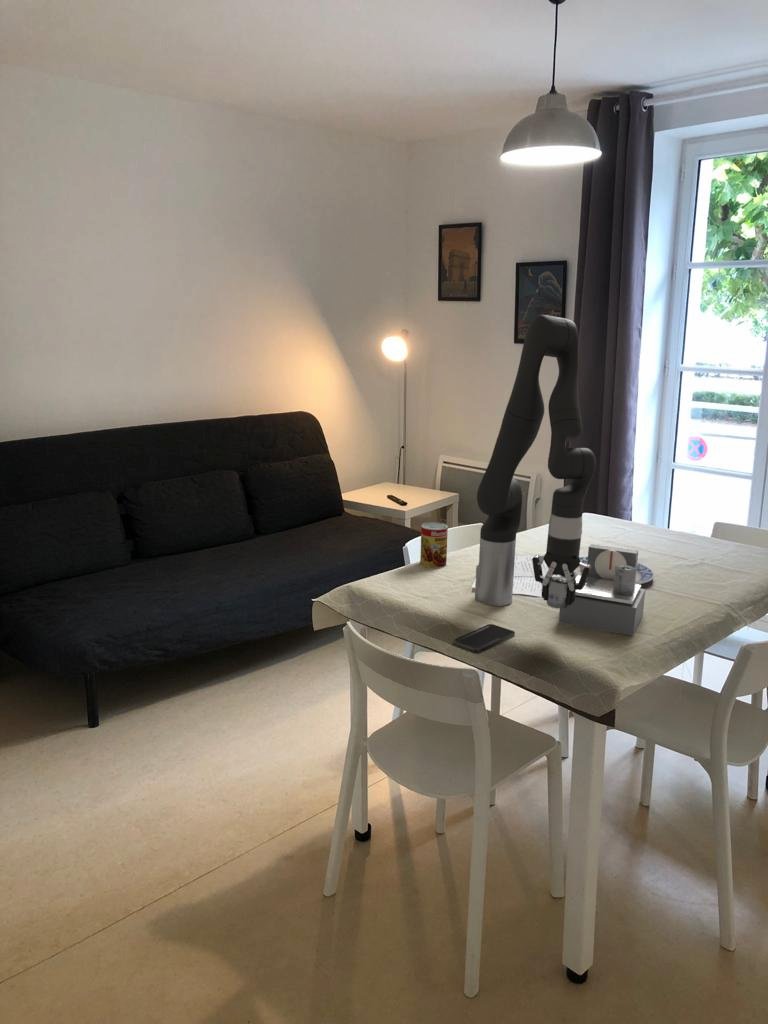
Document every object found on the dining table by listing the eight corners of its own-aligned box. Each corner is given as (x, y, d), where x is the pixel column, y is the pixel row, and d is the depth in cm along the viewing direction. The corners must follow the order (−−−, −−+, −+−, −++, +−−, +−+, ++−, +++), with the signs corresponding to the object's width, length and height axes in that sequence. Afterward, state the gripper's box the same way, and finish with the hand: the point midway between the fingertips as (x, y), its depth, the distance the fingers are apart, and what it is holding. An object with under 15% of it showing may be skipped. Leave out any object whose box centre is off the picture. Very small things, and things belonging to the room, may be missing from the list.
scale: (558, 622, 205) (563, 560, 201) (574, 599, 221) (579, 542, 217) (633, 635, 197) (639, 572, 194) (644, 611, 213) (650, 552, 209)
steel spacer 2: (612, 593, 201) (614, 569, 200) (613, 587, 206) (615, 564, 205) (633, 595, 200) (635, 571, 198) (634, 589, 204) (636, 566, 203)
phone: (451, 640, 191) (490, 623, 202) (451, 645, 191) (490, 627, 202) (479, 650, 186) (517, 632, 196) (478, 655, 186) (517, 636, 197)
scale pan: (565, 593, 203) (566, 590, 203) (577, 578, 215) (577, 575, 215) (632, 604, 197) (632, 601, 197) (640, 587, 208) (641, 585, 208)
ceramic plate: (658, 595, 226) (659, 585, 225) (562, 587, 231) (563, 577, 230) (648, 567, 250) (649, 557, 250) (562, 560, 255) (562, 551, 255)
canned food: (436, 570, 243) (438, 530, 240) (415, 564, 248) (416, 526, 245) (451, 563, 249) (452, 525, 246) (429, 558, 254) (431, 520, 251)
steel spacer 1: (544, 605, 194) (546, 581, 193) (549, 598, 199) (552, 575, 197) (565, 609, 192) (567, 585, 191) (570, 603, 197) (572, 579, 195)
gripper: (529, 531, 191) (523, 600, 195) (591, 542, 185) (583, 613, 189) (539, 524, 197) (533, 591, 202) (599, 534, 191) (591, 603, 196)
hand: (557, 601), depth 195 cm, fingers closed on steel spacer 1, 5 cm apart
